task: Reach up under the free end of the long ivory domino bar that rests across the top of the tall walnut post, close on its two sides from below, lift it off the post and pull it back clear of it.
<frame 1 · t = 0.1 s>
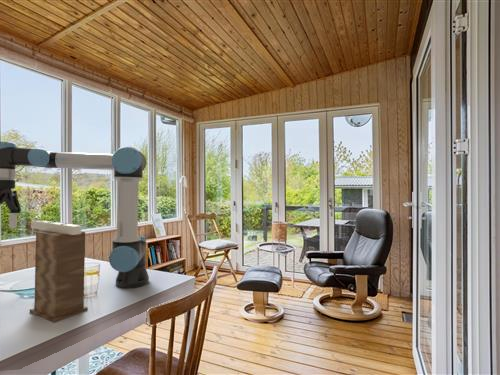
hand: (2, 230, 121), 28 cm above the table, tool pointing down, fingers open, 13 cm apart
domino bar: (54, 230, 112), point 30 cm above the table, touching walnut post
walnut post: (59, 311, 110), on the table
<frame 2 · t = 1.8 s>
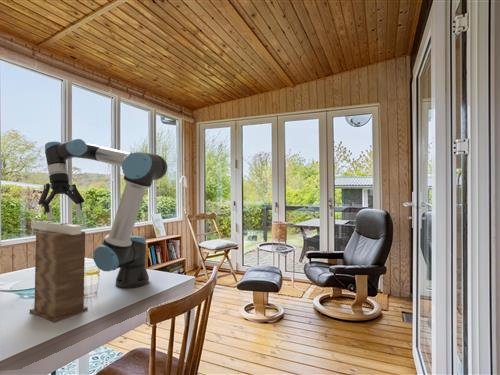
hand: (65, 218, 135), 32 cm above the table, tool tilted 15°, fingers open, 13 cm apart
nothing on the table moved.
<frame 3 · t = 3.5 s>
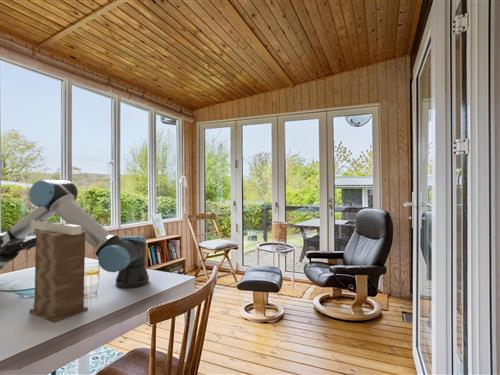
hand: (27, 235, 121), 26 cm above the table, tool pointing upward, fingers open, 13 cm apart
nothing on the table moved.
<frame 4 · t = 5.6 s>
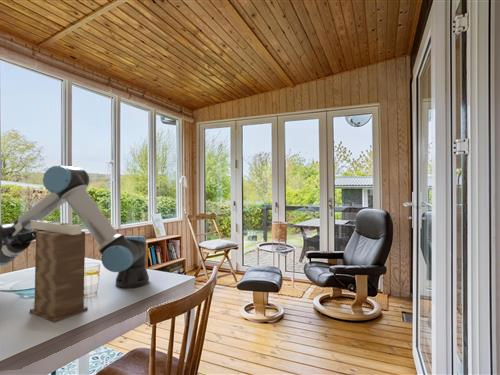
hand: (40, 223, 116), 32 cm above the table, tool pointing upward, fingers open, 13 cm apart
nothing on the table moved.
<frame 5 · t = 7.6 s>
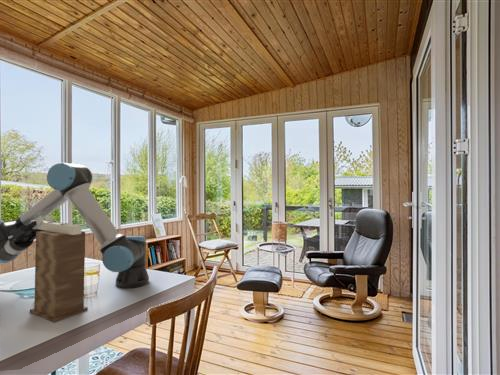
hand: (46, 218, 114), 34 cm above the table, tool pointing upward, fingers closed on domino bar, 3 cm apart
domino bar: (54, 230, 112), point 30 cm above the table, touching gripper, walnut post
everything else where it was.
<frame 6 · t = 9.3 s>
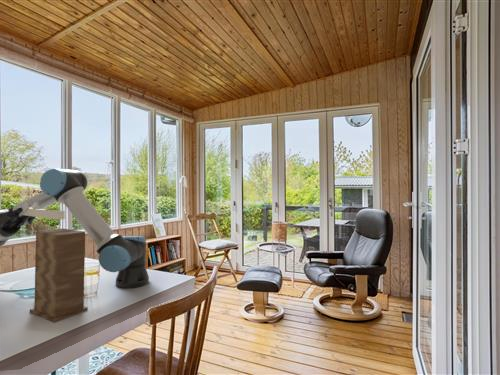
hand: (32, 205, 119), 39 cm above the table, tool pointing upward, fingers closed on domino bar, 3 cm apart
domino bar: (39, 216, 117), point 35 cm above the table, touching gripper
everything else where it was.
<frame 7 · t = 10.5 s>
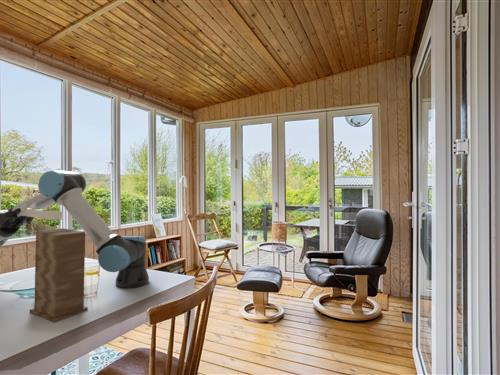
hand: (30, 205, 120), 39 cm above the table, tool pointing upward, fingers closed on domino bar, 3 cm apart
domino bar: (37, 216, 117), point 34 cm above the table, touching gripper
everything else where it was.
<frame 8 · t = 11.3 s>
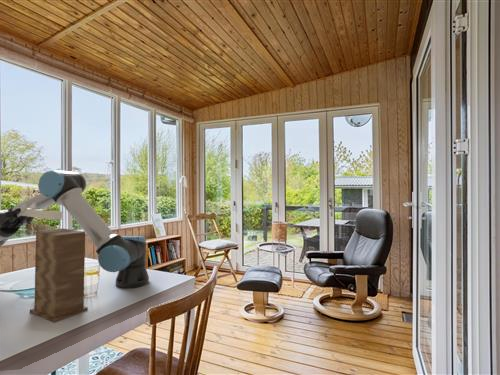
hand: (30, 205, 120), 39 cm above the table, tool pointing upward, fingers closed on domino bar, 3 cm apart
domino bar: (37, 216, 117), point 34 cm above the table, touching gripper
everything else where it was.
at the end: the gripper is holding domino bar; domino bar moved 12.8 cm from its start; domino bar touching gripper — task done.
